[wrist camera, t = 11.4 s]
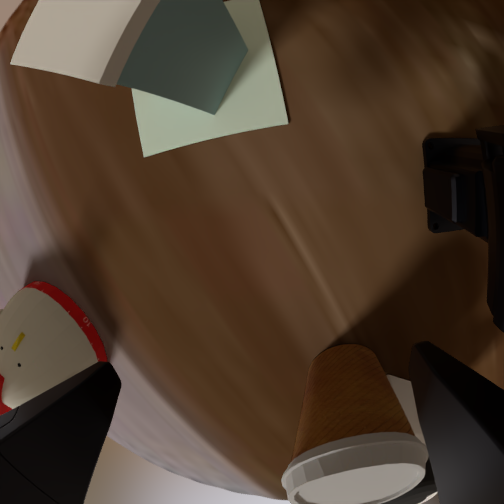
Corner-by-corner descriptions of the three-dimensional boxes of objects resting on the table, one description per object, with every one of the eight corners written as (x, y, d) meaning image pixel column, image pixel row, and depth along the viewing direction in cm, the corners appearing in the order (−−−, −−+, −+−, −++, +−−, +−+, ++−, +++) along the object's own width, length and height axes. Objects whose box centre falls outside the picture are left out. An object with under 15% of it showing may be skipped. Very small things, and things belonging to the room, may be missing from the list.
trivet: (257, -4, 13) (257, -6, 13) (288, 123, 17) (288, 123, 17) (126, 38, 15) (125, 37, 15) (145, 157, 19) (144, 157, 18)
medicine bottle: (343, 416, 25) (350, 518, 14) (386, 371, 22) (416, 485, 11) (392, 426, 25) (408, 515, 14) (434, 387, 23) (468, 480, 11)
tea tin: (250, 49, 15) (189, -64, 4) (215, 117, 17) (99, 83, 6) (182, 29, 15) (74, -54, 4) (149, 92, 17) (9, 64, 5)
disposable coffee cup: (272, 349, 23) (253, 480, 12) (385, 310, 20) (436, 438, 9) (309, 413, 25) (306, 519, 14) (400, 385, 23) (429, 489, 12)
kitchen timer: (116, 329, 25) (26, 444, 11) (101, 396, 30) (46, 480, 16) (22, 258, 24) (-76, 323, 10) (24, 336, 29) (-40, 399, 15)
